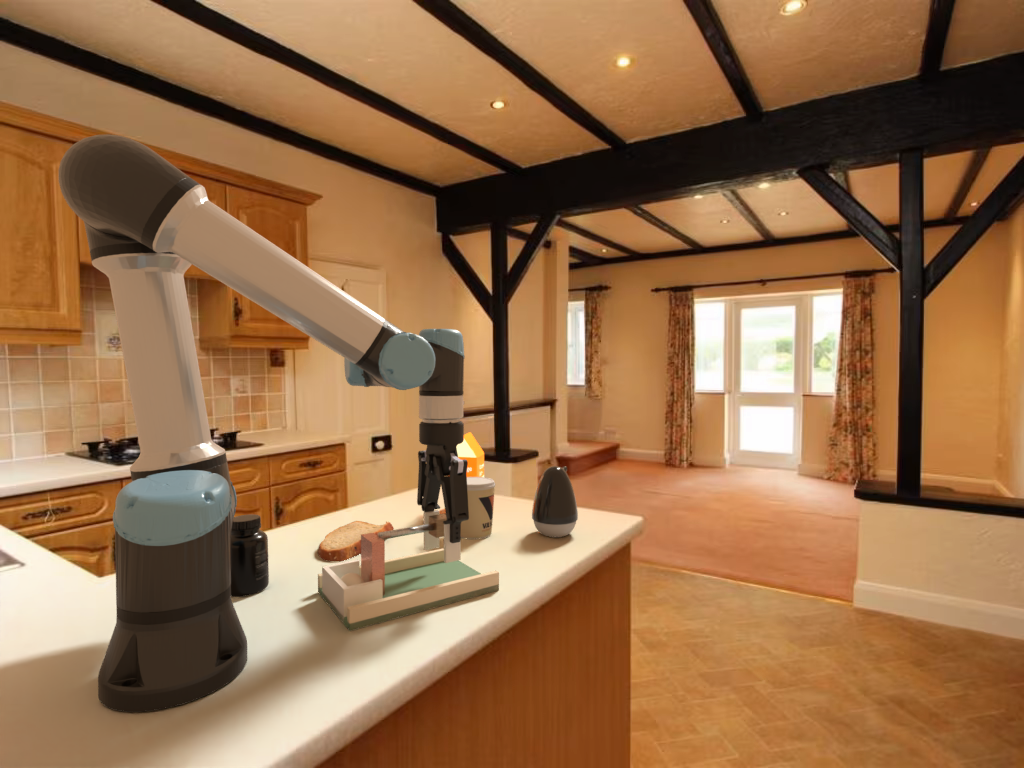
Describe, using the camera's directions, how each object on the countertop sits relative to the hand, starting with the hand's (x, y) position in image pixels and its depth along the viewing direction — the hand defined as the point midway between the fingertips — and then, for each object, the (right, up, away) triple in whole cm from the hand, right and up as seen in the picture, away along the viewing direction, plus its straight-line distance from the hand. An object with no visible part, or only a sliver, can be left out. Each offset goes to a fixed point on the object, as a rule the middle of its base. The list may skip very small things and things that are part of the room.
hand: (441, 554), depth 93 cm
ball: (-13, -2, -9) cm, 16 cm away
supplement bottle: (-32, -5, -3) cm, 33 cm away
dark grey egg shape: (+22, -5, +29) cm, 36 cm away
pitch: (-5, -5, -3) cm, 8 cm away
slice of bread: (-20, -5, +22) cm, 30 cm away
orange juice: (0, -4, +49) cm, 49 cm away
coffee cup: (+4, -5, +28) cm, 29 cm away
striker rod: (-5, -4, -3) cm, 7 cm away
